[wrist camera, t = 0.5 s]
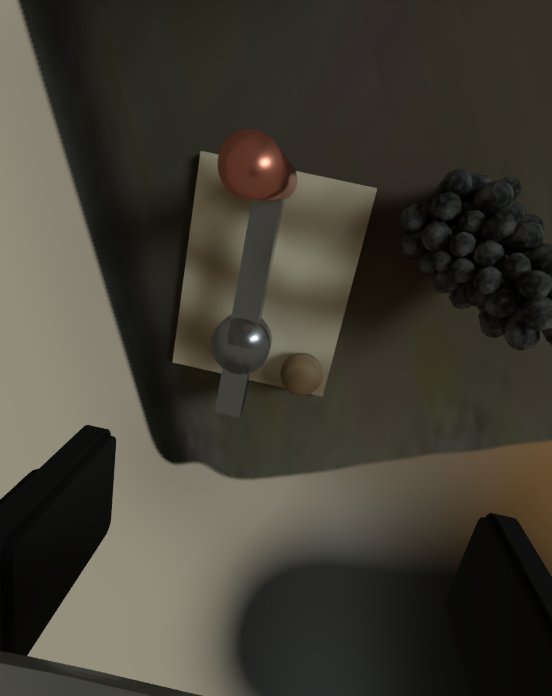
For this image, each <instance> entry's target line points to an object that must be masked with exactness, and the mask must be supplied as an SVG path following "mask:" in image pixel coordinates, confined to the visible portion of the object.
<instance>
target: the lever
mask: <svg viewBox="0 0 552 696" xmlns="http://www.w3.org/2000/svg"><path fill="white" fill-rule="evenodd" d="M217 165H218V173H219V176H220V179H221V181H222V183H223V185H224V186H225V187H226V189H227V190H228V191H229V192H231V193H232V194H233V195H235V196H237V197H239V198H242V199H247V200H252V202H251V208H250V213H249V219H248V225H247V231H246V236H245V242H244V248H243V253H242V259H241V265H240V271H239V276H238V282H237V288H236V293H235V299H234V305H233V311H232V314H231V315H229V316H228V317H226V318H225V319H224V320H223V321H222V322H221V323H220V325H219V326H218V327H217V328H216V330H215V331H214V333H213V335H212V339H211V351H212V354H213V356H214V358H215V360H216V362H217V363H218V364H219V365H220V366H221V367H222V374H221V379H220V385H219V391H218V397H217V402H216V408H215V412H217V413H221V414H225V415H230V416H234V417H238V418H240V415H241V413H242V410H243V407H244V403H245V398H246V393H247V388H248V383H249V378H250V373H252V372H254V371H256V370H258V369H259V368H260V367H261V366H262V365H263V364H264V363H265V361H266V359H267V357H268V354H269V351H270V349H271V345H272V335H271V331H270V329H269V327H268V325H267V324H266V322H265V321H264V320H263V319H262V318H261V317H262V312H263V307H264V302H265V297H266V292H267V287H268V282H269V277H270V272H271V267H272V262H273V257H274V252H275V247H276V242H277V237H278V232H279V227H280V222H281V217H282V211H283V206H284V201H285V200H286V199H288V198H289V197H290V196H291V195H292V194H293V193H294V191H295V189H296V186H297V174H296V171H295V169H294V167H293V166H292V165H291V163H290V162H289V161H288V159H287V158H286V157H285V155H284V154H283V153H282V151H281V150H280V149H279V147H278V146H277V145H276V143H275V142H274V141H273V140H272V139H271V138H270V137H269V136H268V135H266V134H265V133H263V132H261V131H258V130H253V129H245V130H241V131H238V132H236V133H234V134H232V135H231V136H230V137H229V138H228V139H227V140H226V141H225V142H224V144H223V145H222V147H221V149H220V152H219V155H218V162H217Z"/></svg>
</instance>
